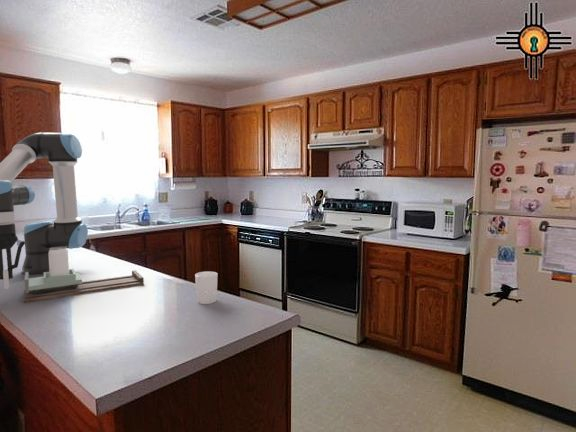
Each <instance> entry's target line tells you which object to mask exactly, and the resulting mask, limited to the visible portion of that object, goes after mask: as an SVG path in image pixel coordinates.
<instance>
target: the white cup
mask: <svg viewBox="0 0 576 432" xmlns="http://www.w3.org/2000/svg"><path fill="white" fill-rule="evenodd" d="M194 277H195V278H194V280H195V282H194V283H195V292H196V301H197V303H198V304H199V305H200V304H201V305H210V304H214V303H216V302H217V294H218V272H216V271H199V272H196V273H195V274H194Z"/></svg>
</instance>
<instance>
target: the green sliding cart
mask: <svg viewBox="0 0 576 432" xmlns="http://www.w3.org/2000/svg"><path fill="white" fill-rule="evenodd" d="M82 282H83V279H82V276H81V275H80V273H79V272H75V270H74V268H72V269H71V268H69V275H63V276H55V277H50V272H44V273H43V276H38V277H30V274H29V273H28V272H25V273H24V287H25V289H24V292H25V291H26V293H29V291H31V290H33V292H34V293H35V294H39V293H40V292H41V289H45V288H53V287H60V286H67V285H71V288H73V289H76V288H77V287H78V284H82Z"/></svg>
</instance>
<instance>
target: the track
mask: <svg viewBox="0 0 576 432" xmlns="http://www.w3.org/2000/svg"><path fill="white" fill-rule="evenodd" d="M144 284H145V280H144V277H143V276H142V275H141V274H140V273H139V272H138V271H137V270H135V269H134V270H131V274H130V275H125V276H117V277H116V276H115V277H107V278H102V279H101V278H100V279H93V280H88V281H87V280H86V281H82V284H78V287H77V288H76V289H73V288H71V285H67V286H60V287H53V288H45V289H41V292H40V293H39V294H35V293H34V292H33V290H31V291H29V293H26V291H25V290H24V295H23V303H30V302H36V301H37V302H38V301H43V300H44V301H45V300H50V299H56V298H63V297H69V296H76V295H77V296H78V295H85V294H91V293H97V292H104V291H111V290H117V289H125V288H131V287H137V286H138V287H139V286H143V285H144Z"/></svg>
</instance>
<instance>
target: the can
mask: <svg viewBox="0 0 576 432" xmlns="http://www.w3.org/2000/svg"><path fill="white" fill-rule="evenodd" d="M49 249H50V250H49V253H48V255H49V271H50V277H55V276H63V275H69V269H70V268H69V267H70V266H69V264H70V263H69V262H70V261H69V252H68V251H69V250H68V248H66V247H52V248H49Z"/></svg>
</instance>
